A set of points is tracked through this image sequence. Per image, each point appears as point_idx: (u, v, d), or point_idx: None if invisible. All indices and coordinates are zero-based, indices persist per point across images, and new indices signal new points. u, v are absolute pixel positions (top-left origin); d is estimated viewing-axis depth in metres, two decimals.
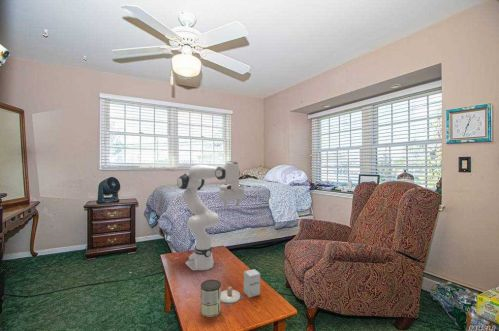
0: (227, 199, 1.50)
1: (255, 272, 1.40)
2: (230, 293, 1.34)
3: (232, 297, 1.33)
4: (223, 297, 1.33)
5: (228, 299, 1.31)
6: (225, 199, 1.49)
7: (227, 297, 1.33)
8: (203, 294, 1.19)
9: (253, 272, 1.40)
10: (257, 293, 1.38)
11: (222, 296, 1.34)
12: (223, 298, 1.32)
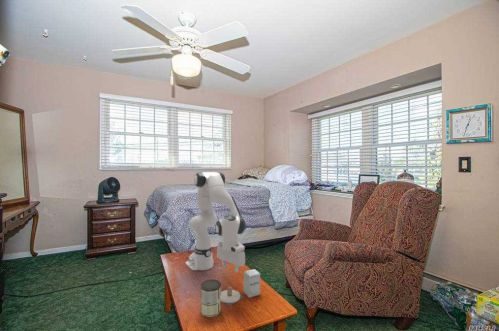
0: None
1: (255, 272, 1.40)
2: (230, 293, 1.34)
3: (232, 297, 1.33)
4: (223, 297, 1.33)
5: (228, 299, 1.31)
6: None
7: (227, 297, 1.33)
8: (203, 294, 1.19)
9: (253, 272, 1.40)
10: (257, 293, 1.38)
11: (222, 296, 1.34)
12: (223, 298, 1.32)
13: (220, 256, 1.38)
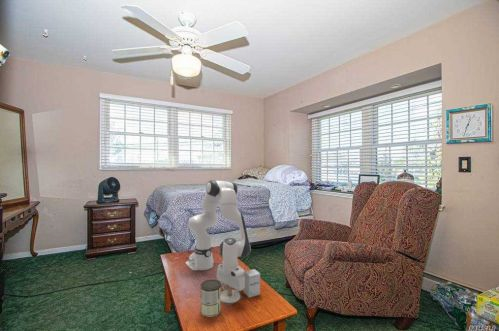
0: None
1: (255, 272, 1.40)
2: (230, 293, 1.34)
3: (232, 297, 1.33)
4: (223, 297, 1.33)
5: (228, 299, 1.31)
6: None
7: (227, 297, 1.33)
8: (203, 294, 1.19)
9: (253, 272, 1.40)
10: (257, 293, 1.38)
11: (222, 296, 1.34)
12: (223, 298, 1.32)
13: (220, 278, 1.38)
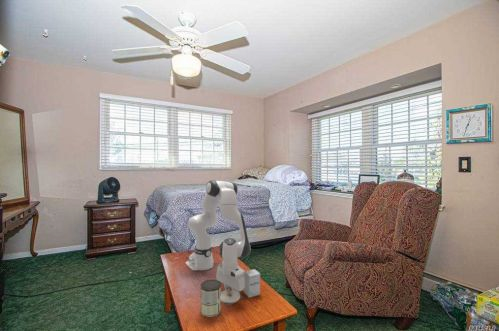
0: None
1: (255, 272, 1.40)
2: None
3: (232, 297, 1.33)
4: (223, 297, 1.33)
5: (228, 299, 1.31)
6: None
7: (227, 297, 1.33)
8: (203, 294, 1.19)
9: (253, 272, 1.40)
10: (257, 293, 1.38)
11: (222, 296, 1.34)
12: (223, 298, 1.32)
13: (220, 279, 1.38)
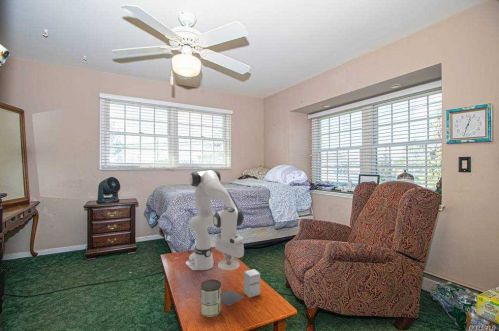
0: None
1: (255, 272, 1.40)
2: None
3: (231, 265, 1.32)
4: (222, 265, 1.32)
5: (227, 266, 1.30)
6: None
7: (226, 265, 1.32)
8: (203, 294, 1.19)
9: (253, 272, 1.40)
10: (257, 293, 1.38)
11: (221, 264, 1.33)
12: (222, 266, 1.31)
13: (219, 248, 1.37)
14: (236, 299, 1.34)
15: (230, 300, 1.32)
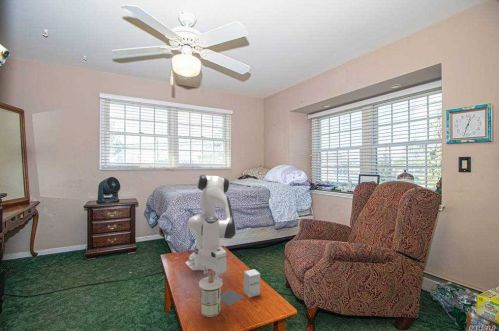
0: None
1: (255, 272, 1.40)
2: (211, 279, 1.22)
3: (213, 284, 1.21)
4: (203, 284, 1.20)
5: (208, 285, 1.19)
6: None
7: (208, 283, 1.21)
8: (203, 294, 1.19)
9: (253, 272, 1.40)
10: (257, 293, 1.38)
11: (202, 282, 1.22)
12: (203, 284, 1.20)
13: (200, 261, 1.26)
14: (236, 299, 1.34)
15: (230, 300, 1.32)
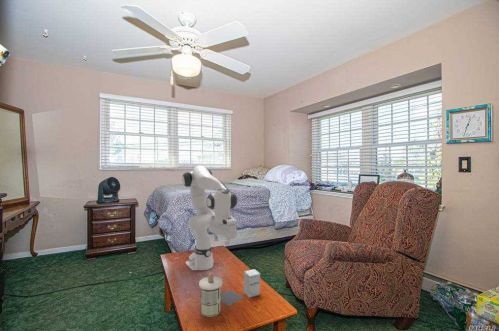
0: None
1: (255, 272, 1.40)
2: (211, 279, 1.22)
3: (213, 284, 1.21)
4: (203, 284, 1.20)
5: (208, 285, 1.19)
6: None
7: (208, 283, 1.21)
8: (203, 294, 1.19)
9: (253, 272, 1.40)
10: (257, 293, 1.38)
11: (202, 282, 1.22)
12: (203, 284, 1.20)
13: (212, 229, 1.37)
14: (236, 299, 1.34)
15: (230, 300, 1.32)
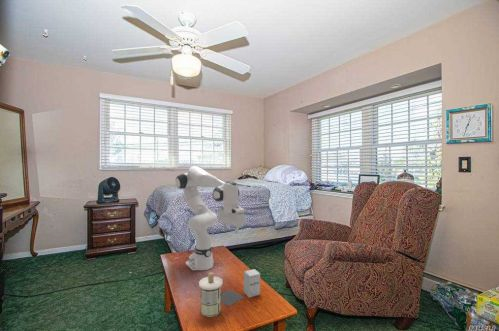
0: None
1: (255, 272, 1.40)
2: (211, 279, 1.22)
3: (213, 283, 1.21)
4: (203, 284, 1.20)
5: (208, 285, 1.19)
6: None
7: (208, 283, 1.21)
8: (203, 294, 1.19)
9: (253, 272, 1.40)
10: (257, 293, 1.38)
11: (202, 282, 1.22)
12: (203, 284, 1.20)
13: (221, 219, 1.48)
14: (236, 299, 1.34)
15: (230, 300, 1.32)
